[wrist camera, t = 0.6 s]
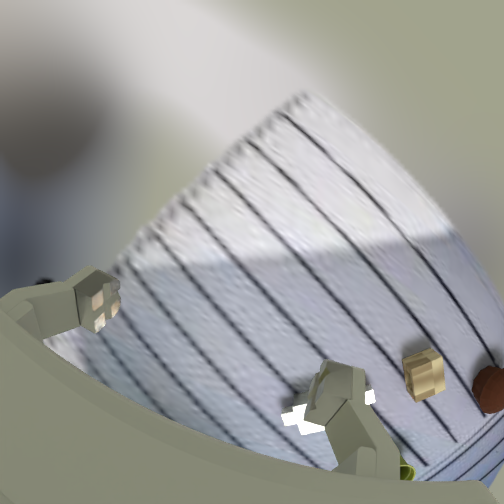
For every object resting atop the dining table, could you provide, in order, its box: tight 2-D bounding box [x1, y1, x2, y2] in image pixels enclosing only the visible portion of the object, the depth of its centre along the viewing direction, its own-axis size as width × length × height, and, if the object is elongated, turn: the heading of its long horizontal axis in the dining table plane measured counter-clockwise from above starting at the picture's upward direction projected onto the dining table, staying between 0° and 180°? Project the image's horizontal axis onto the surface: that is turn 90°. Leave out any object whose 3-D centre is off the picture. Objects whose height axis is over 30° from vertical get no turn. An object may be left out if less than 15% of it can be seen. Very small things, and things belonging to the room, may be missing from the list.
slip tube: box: [281, 384, 375, 426], centre depth 54 cm, size 4×19×6 cm, turn 107°
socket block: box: [402, 348, 445, 402], centre depth 51 cm, size 8×7×6 cm
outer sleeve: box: [293, 391, 325, 435], centre depth 55 cm, size 7×8×6 cm
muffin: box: [472, 366, 504, 414], centre depth 46 cm, size 12×11×10 cm
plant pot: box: [400, 455, 416, 481], centre depth 50 cm, size 9×9×9 cm
